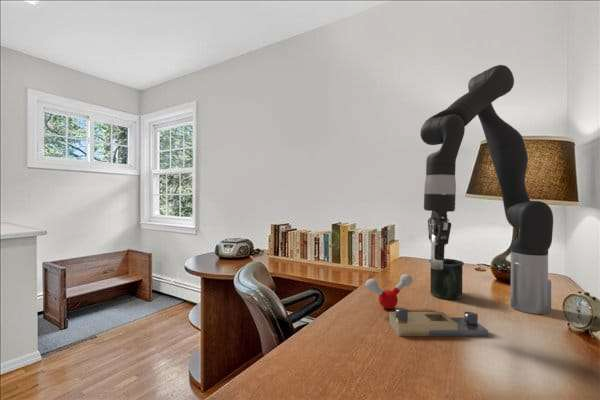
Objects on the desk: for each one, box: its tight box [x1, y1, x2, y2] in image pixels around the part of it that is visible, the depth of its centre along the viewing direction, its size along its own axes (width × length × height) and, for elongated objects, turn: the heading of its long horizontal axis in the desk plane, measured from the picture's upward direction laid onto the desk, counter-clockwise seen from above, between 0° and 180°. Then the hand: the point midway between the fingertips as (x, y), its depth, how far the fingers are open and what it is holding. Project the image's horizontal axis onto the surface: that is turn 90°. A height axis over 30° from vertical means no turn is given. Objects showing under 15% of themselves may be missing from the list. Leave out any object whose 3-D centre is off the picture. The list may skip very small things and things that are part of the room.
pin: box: [430, 230, 443, 270], centre depth 81 cm, size 4×4×10 cm
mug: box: [429, 257, 465, 301], centre depth 109 cm, size 11×15×12 cm
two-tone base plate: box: [388, 307, 489, 337], centre depth 80 cm, size 22×8×5 cm, turn 90°
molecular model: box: [365, 273, 413, 310], centre depth 95 cm, size 18×6×10 cm, turn 124°
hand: (437, 258), depth 81 cm, fingers closed on pin, 3 cm apart
